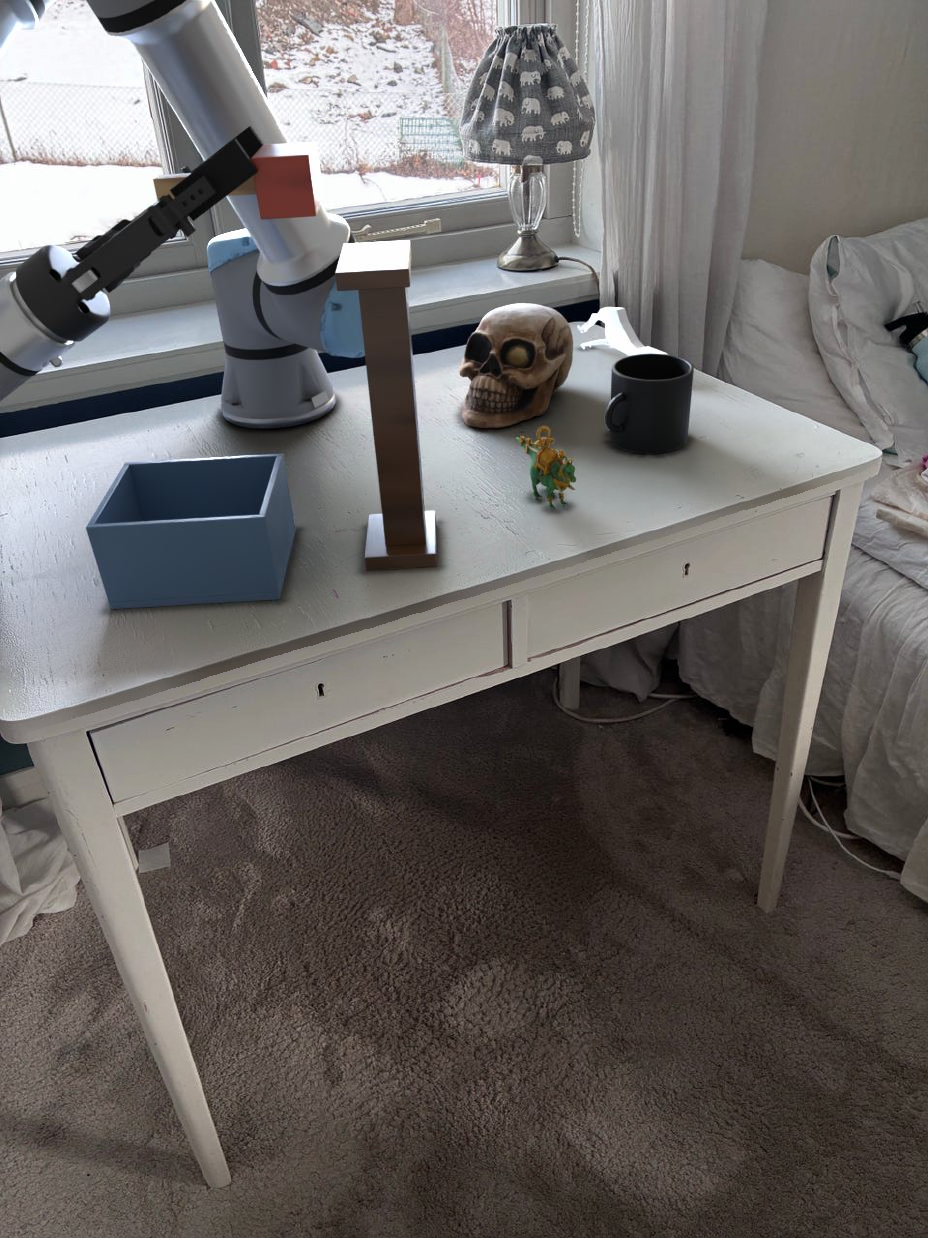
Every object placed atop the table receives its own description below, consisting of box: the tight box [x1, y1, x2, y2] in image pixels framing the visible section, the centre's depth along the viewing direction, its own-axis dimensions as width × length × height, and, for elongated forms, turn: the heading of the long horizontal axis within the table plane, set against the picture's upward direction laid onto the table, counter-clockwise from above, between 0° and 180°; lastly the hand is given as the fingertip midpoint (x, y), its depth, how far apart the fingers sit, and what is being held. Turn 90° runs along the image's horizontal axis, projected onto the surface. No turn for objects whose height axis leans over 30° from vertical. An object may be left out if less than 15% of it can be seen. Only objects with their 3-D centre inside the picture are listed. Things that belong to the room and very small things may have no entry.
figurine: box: [516, 425, 577, 510], centre depth 103 cm, size 3×12×8 cm, turn 27°
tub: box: [85, 452, 296, 610], centre depth 93 cm, size 14×16×9 cm
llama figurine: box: [576, 306, 669, 356], centre depth 137 cm, size 2×11×18 cm
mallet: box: [152, 141, 324, 219], centre depth 78 cm, size 7×13×4 cm, turn 92°
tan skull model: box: [458, 302, 574, 429], centre depth 125 cm, size 16×17×13 cm
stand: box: [335, 239, 438, 571], centre depth 89 cm, size 10×7×28 cm
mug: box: [604, 353, 695, 455], centre depth 113 cm, size 9×12×9 cm
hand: (253, 147), depth 76 cm, fingers closed on mallet, 7 cm apart
